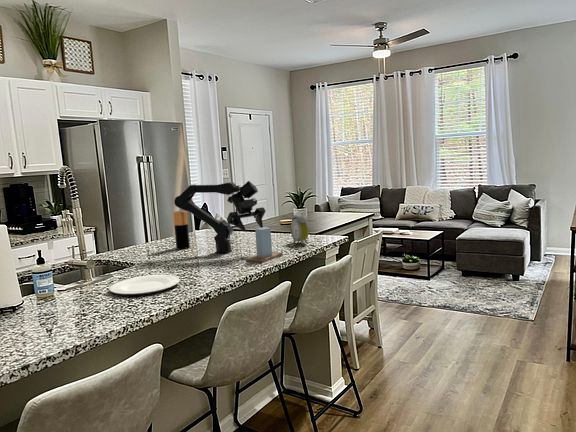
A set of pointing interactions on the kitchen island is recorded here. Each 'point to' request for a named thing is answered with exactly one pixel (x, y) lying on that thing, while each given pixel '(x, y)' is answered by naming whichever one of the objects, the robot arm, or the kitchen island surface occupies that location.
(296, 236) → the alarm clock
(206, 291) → the kitchen island surface
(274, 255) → the tan flat board
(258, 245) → the slate-blue post
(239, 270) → the kitchen island surface
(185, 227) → the battery
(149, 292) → the plate
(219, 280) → the kitchen island surface
